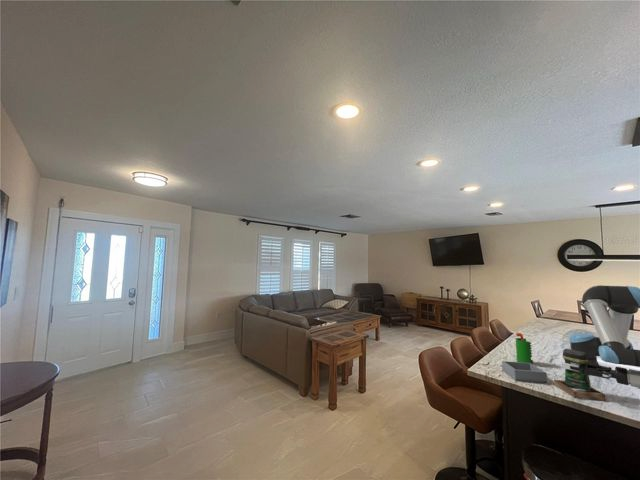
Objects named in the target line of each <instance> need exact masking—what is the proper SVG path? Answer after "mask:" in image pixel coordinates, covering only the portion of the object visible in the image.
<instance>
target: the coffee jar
mask: <svg viewBox="0 0 640 480" xmlns="http://www.w3.org/2000/svg"><path fill="white" fill-rule="evenodd" d="M562 358H563V361H564V363H568V364H573V365H577V366H578V365H580V366H581V367H585V368H587V363H588V357H587V354H586V353H585V352H581V351H576V350H571V348H565V349H563V350H562ZM564 369H565V368H564ZM564 373H565V374H564V381H565V383H566V384H567V385H568V386H571V387H574V389H577V390H578V389H579V390H582V391H585V390H590V389H591V387H592V386H591V379H590V377H589V376H590V375H587V374H581V373H580V372H578V371H574V370H570V369H565V370H564ZM571 387H570V388H571Z"/></svg>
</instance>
